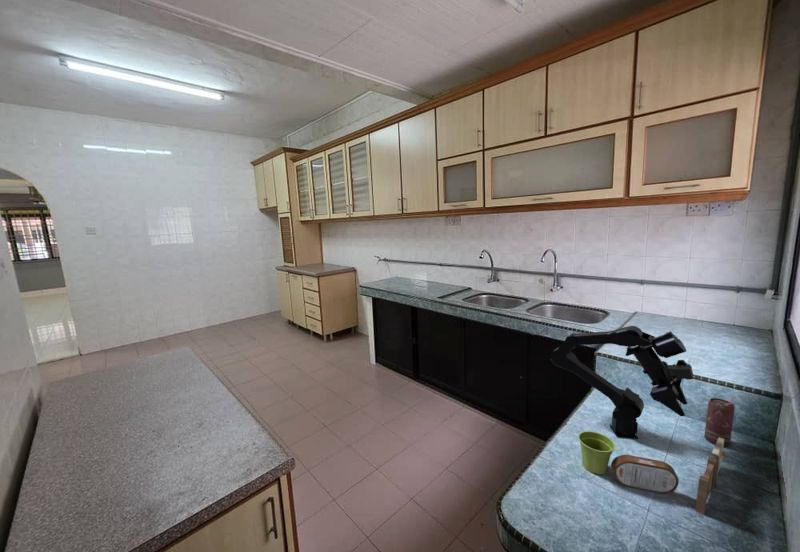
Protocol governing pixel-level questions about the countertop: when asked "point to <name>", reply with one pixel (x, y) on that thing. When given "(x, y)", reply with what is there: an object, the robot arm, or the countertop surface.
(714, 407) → the can
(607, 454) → the plant pot
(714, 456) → the panel
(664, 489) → the tin
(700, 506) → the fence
